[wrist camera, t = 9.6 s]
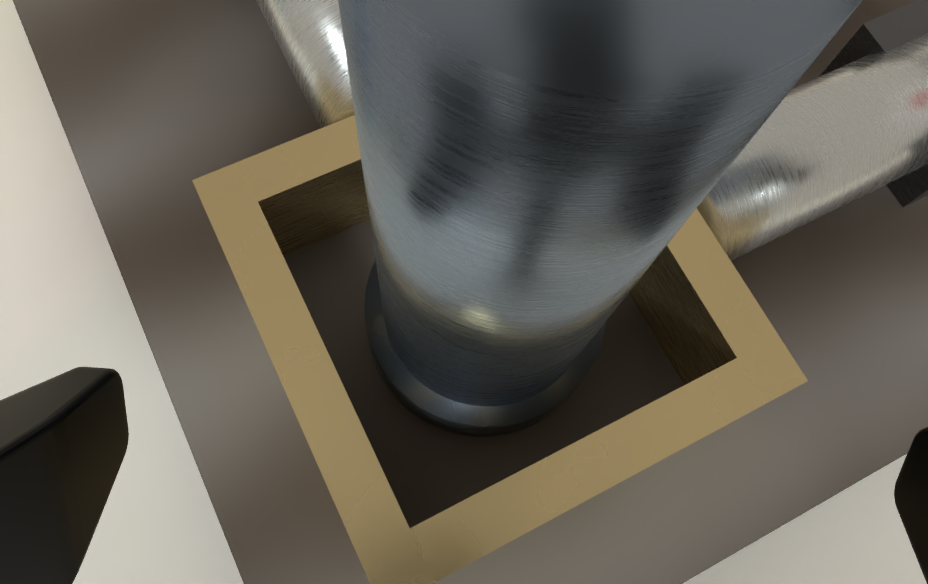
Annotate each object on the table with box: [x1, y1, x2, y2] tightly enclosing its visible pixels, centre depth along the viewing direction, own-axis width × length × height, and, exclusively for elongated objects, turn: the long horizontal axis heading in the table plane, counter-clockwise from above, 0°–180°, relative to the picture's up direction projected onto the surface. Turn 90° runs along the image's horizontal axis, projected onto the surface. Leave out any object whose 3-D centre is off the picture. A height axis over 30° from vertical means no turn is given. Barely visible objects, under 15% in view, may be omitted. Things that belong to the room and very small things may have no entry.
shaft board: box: [13, 0, 928, 584], centre depth 21 cm, size 23×23×1 cm
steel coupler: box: [338, 0, 862, 437], centre depth 12 cm, size 5×5×13 cm
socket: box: [192, 0, 928, 584], centre depth 19 cm, size 18×18×3 cm
